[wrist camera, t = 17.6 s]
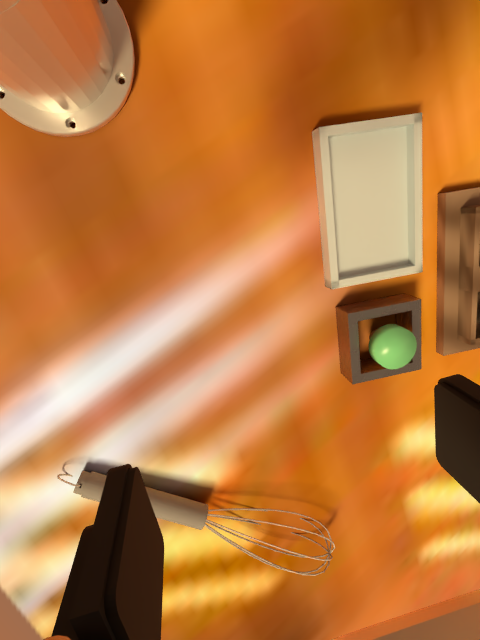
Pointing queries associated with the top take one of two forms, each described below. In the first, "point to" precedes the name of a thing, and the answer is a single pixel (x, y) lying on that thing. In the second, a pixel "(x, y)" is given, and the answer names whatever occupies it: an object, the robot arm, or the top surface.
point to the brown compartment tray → (458, 271)
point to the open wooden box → (350, 314)
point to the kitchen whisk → (191, 514)
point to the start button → (392, 346)
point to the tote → (369, 199)
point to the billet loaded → (478, 309)
